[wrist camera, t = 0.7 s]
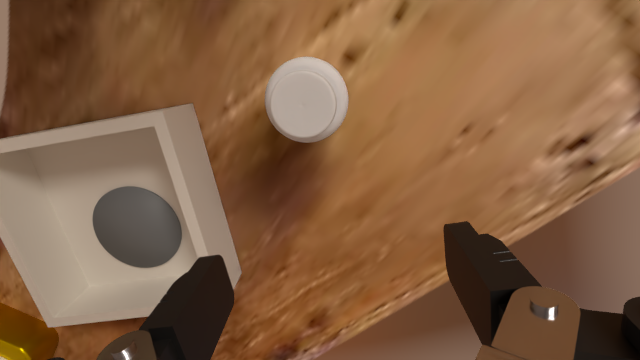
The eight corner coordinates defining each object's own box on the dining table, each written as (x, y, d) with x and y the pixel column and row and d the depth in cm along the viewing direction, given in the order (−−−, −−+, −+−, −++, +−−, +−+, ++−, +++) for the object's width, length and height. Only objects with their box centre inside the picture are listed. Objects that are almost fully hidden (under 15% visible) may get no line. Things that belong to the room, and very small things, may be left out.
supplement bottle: (287, 127, 30) (264, 156, 21) (278, 63, 29) (247, 62, 19) (349, 121, 30) (353, 146, 20) (342, 55, 28) (344, 49, 18)
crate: (16, 135, 32) (-47, 148, 27) (192, 103, 30) (162, 110, 25) (88, 291, 38) (48, 327, 32) (241, 272, 36) (225, 307, 30)
